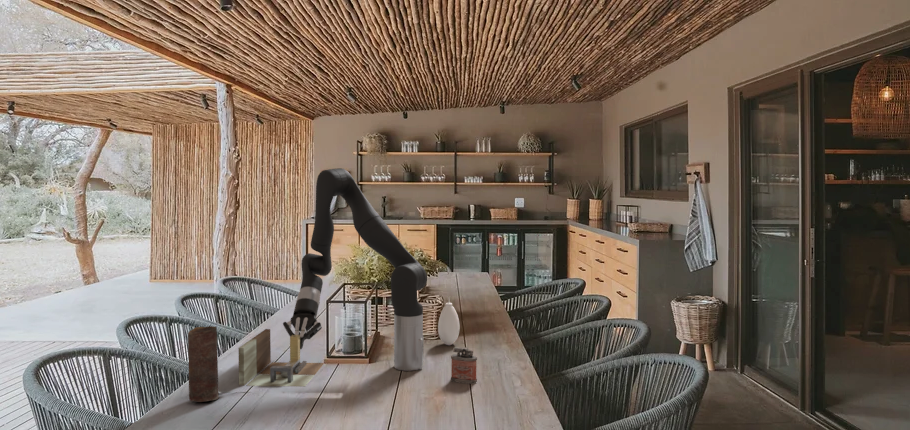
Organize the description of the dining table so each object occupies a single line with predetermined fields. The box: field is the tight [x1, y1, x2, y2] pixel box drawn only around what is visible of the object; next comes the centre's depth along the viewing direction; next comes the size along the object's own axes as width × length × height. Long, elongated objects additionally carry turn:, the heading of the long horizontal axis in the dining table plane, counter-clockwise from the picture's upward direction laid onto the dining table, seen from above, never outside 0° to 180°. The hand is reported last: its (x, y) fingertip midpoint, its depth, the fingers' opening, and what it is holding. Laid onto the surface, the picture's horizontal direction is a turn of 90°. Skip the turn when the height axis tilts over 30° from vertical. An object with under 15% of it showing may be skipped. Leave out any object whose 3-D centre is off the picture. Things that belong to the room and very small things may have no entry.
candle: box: [187, 325, 220, 403], centre depth 156 cm, size 8×7×20 cm
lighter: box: [450, 346, 478, 384], centre depth 174 cm, size 8×3×10 cm, turn 71°
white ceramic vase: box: [437, 297, 461, 346], centre depth 214 cm, size 8×8×18 cm
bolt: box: [280, 335, 301, 377], centre depth 178 cm, size 2×11×10 cm, turn 179°
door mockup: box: [238, 328, 325, 387], centre depth 176 cm, size 19×22×12 cm
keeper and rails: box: [269, 360, 307, 383], centre depth 177 cm, size 6×17×4 cm, turn 178°
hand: (297, 349), depth 184 cm, fingers closed
